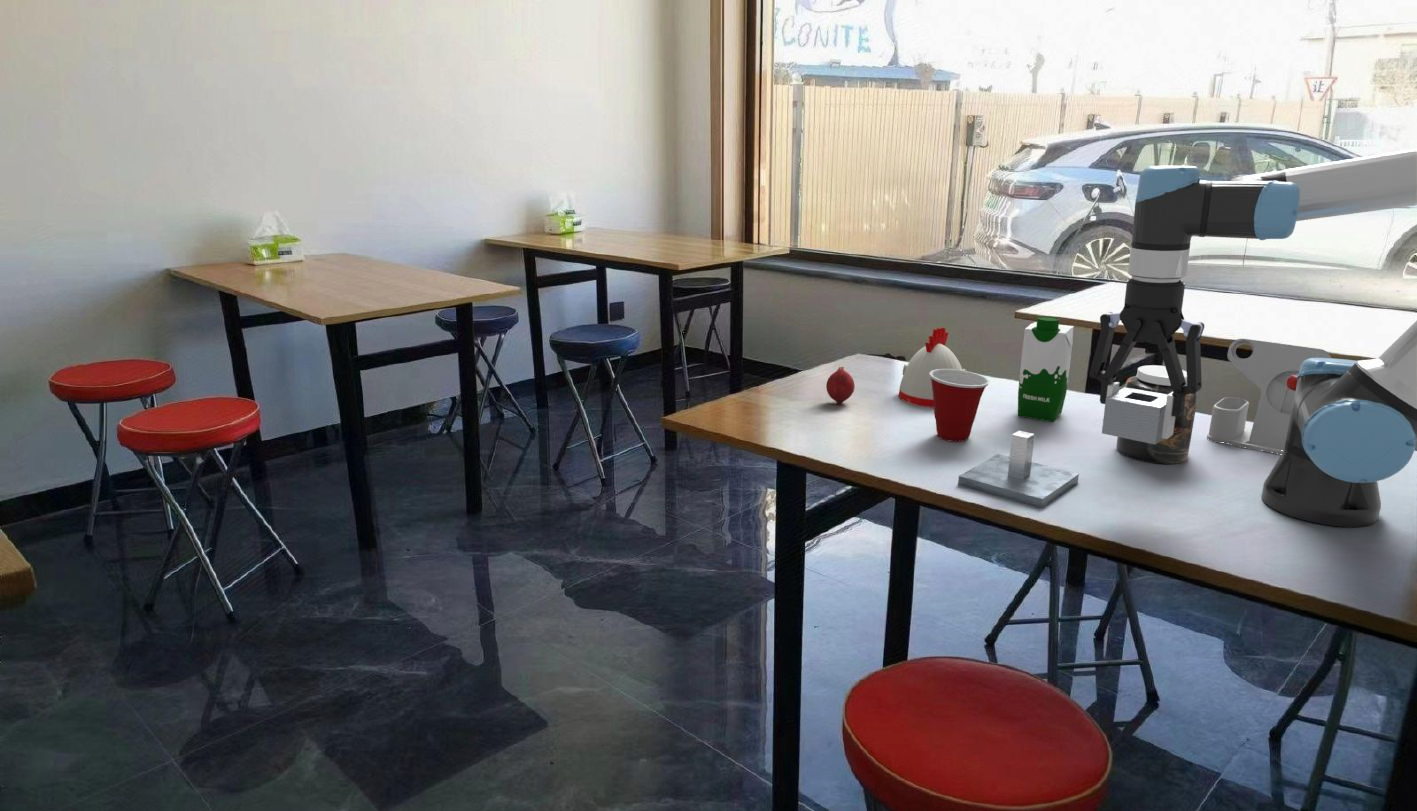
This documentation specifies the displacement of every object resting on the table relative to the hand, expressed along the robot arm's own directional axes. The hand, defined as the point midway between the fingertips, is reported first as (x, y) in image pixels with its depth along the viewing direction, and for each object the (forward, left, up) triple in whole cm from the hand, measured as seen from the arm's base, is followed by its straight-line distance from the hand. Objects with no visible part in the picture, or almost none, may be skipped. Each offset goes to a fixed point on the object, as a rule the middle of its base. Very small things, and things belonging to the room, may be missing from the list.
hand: (1137, 430), depth 137 cm
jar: (+5, -28, -13) cm, 31 cm away
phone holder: (-8, -47, -13) cm, 49 cm away
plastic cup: (+35, -12, -13) cm, 39 cm away
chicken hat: (+51, -32, -13) cm, 62 cm away
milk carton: (+29, -36, -13) cm, 48 cm away
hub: (0, 0, 0) cm, 0 cm away
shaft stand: (+16, +2, -12) cm, 21 cm away
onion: (+63, -15, -13) cm, 66 cm away
